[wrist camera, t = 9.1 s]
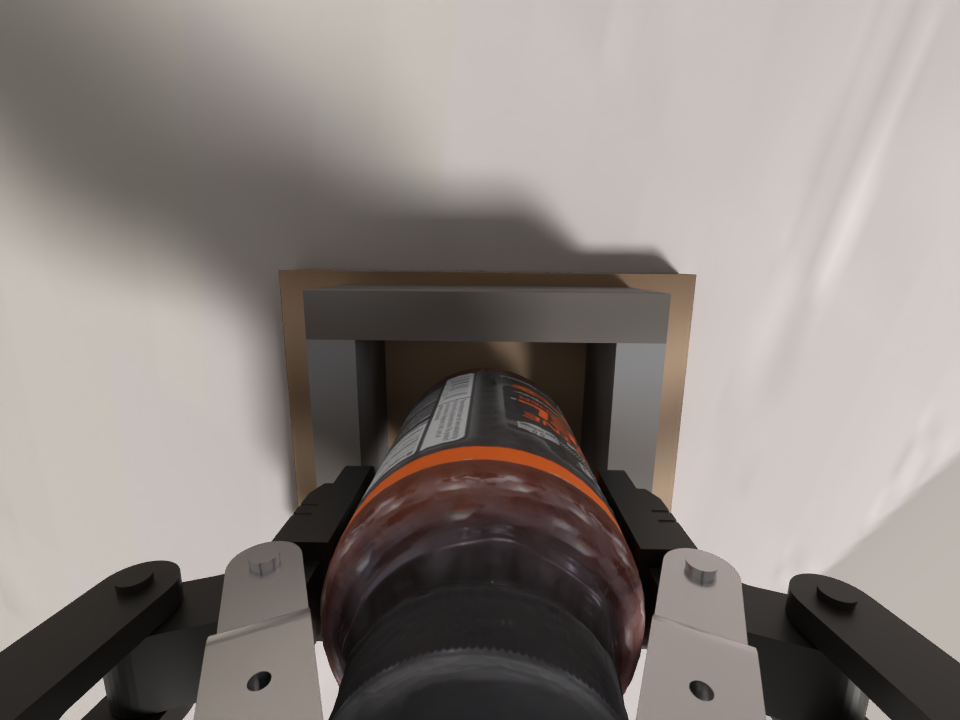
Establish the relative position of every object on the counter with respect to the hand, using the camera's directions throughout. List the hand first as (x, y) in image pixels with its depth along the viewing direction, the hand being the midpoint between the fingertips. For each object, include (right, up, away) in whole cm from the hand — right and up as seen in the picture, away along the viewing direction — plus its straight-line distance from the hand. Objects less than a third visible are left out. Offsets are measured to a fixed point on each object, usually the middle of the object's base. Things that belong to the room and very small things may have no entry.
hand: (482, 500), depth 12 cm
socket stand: (0, +2, +8) cm, 8 cm away
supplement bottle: (0, +1, +4) cm, 4 cm away
